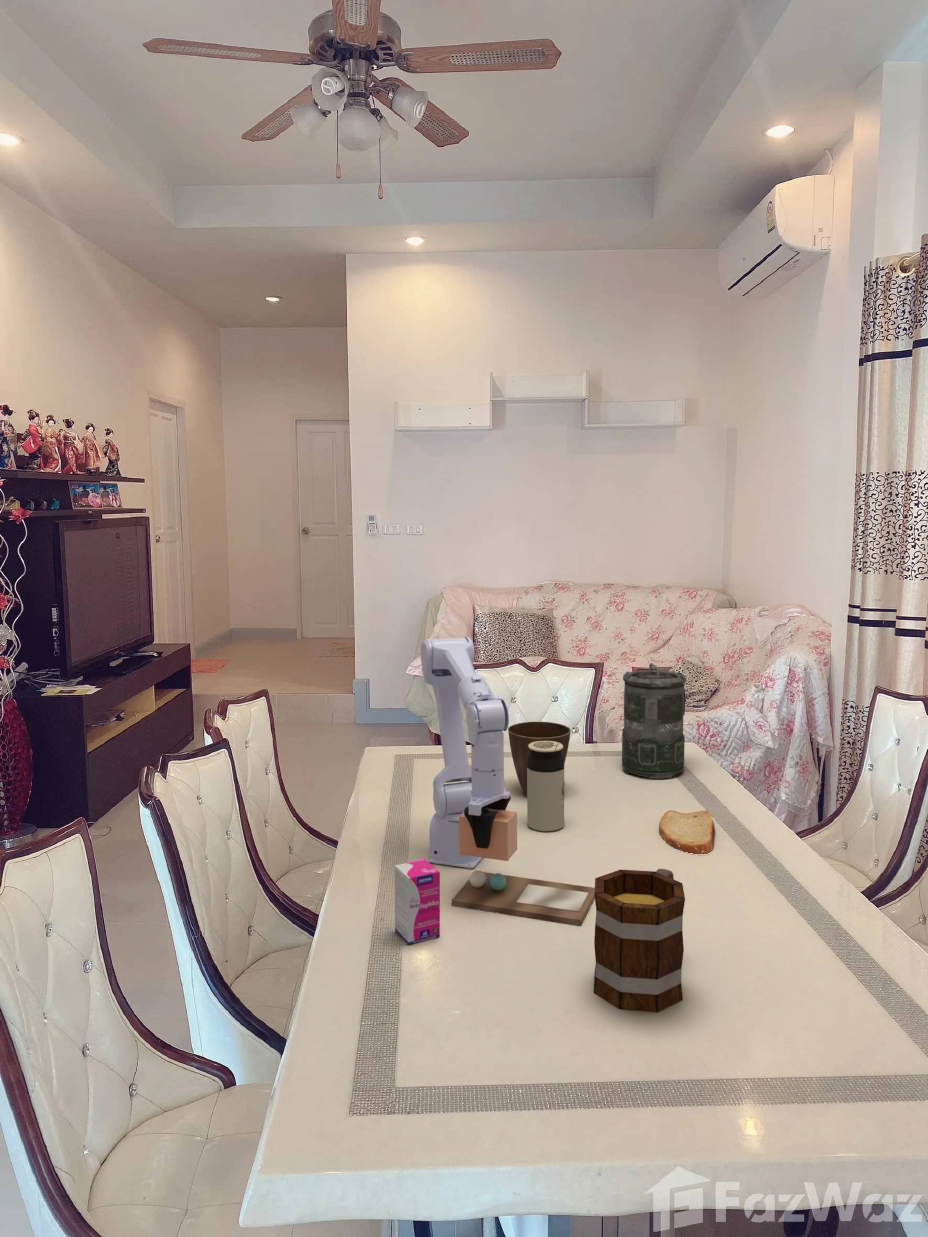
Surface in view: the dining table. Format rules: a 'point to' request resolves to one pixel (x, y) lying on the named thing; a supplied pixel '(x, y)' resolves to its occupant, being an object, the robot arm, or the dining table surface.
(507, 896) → the walnut board
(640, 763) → the canister
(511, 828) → the terracotta cover
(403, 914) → the supplement box
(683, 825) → the slice of bread
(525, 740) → the plant pot
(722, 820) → the dining table surface
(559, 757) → the travel mug
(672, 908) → the mug
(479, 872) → the cream marble
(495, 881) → the teal marble
